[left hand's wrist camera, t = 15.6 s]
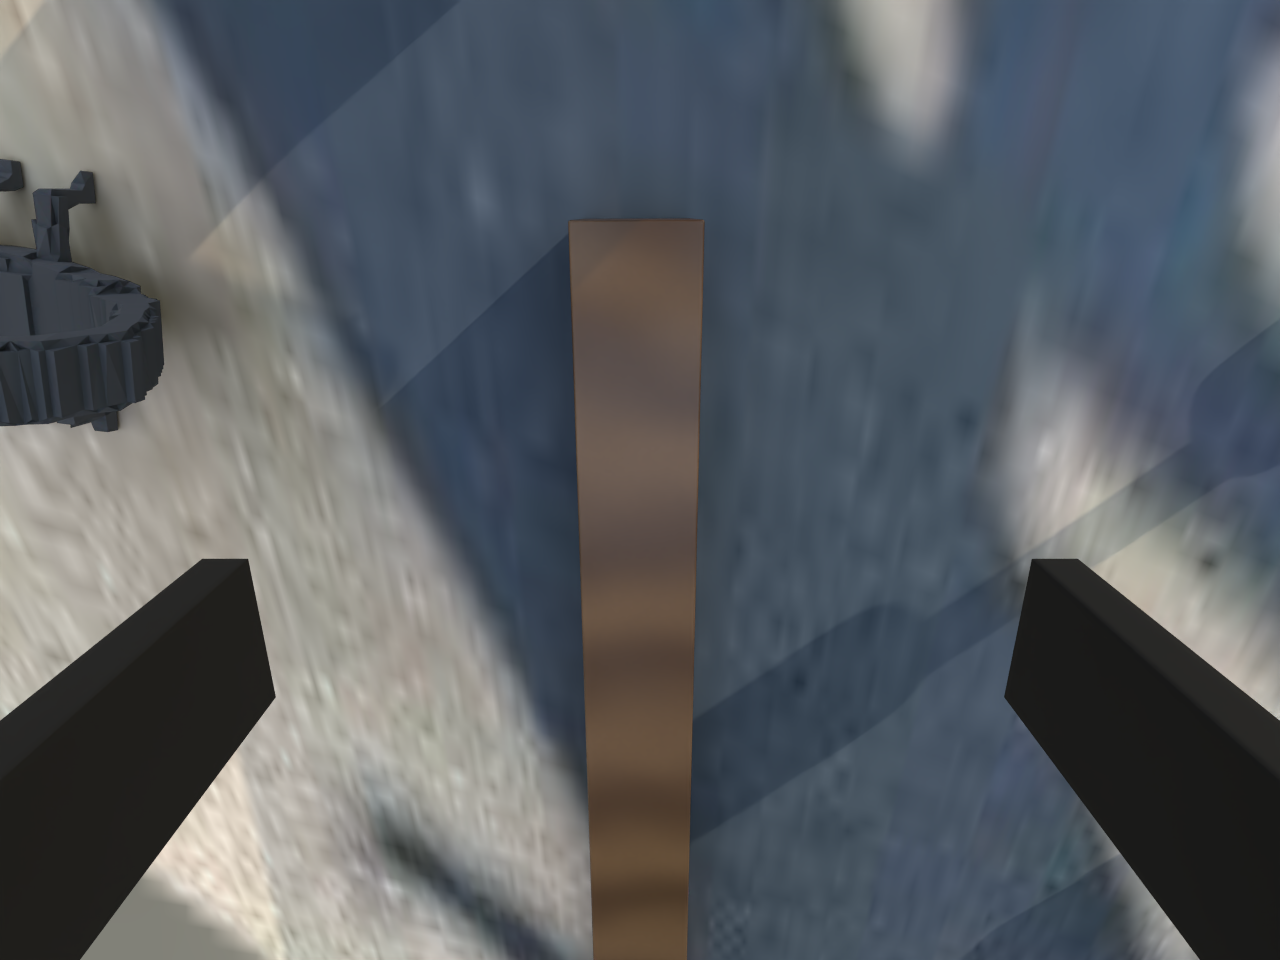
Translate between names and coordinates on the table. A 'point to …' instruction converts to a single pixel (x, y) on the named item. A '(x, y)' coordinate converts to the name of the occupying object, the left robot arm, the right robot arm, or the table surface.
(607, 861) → the post
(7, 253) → the toy
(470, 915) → the table surface
